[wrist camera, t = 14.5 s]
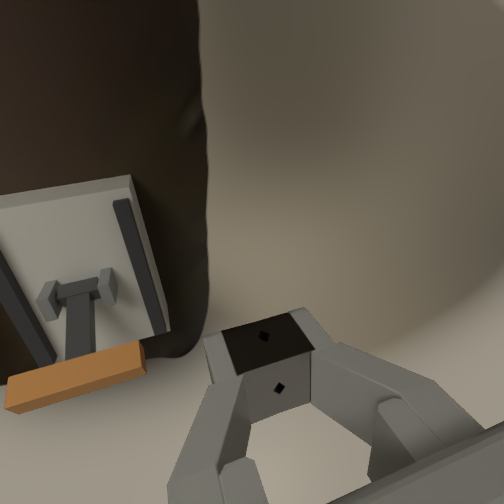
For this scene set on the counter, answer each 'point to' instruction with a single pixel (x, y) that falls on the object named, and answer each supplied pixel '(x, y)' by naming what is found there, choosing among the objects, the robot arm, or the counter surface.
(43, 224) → the box
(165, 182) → the counter surface
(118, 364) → the lever
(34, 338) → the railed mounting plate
